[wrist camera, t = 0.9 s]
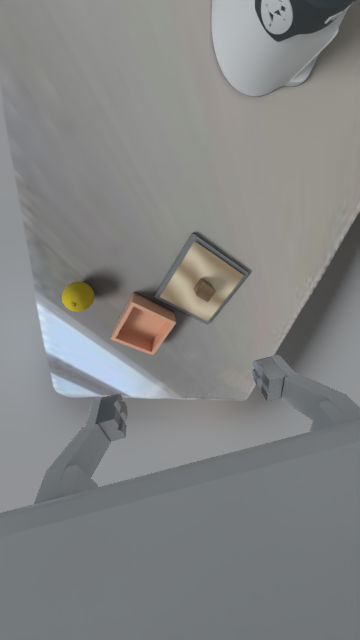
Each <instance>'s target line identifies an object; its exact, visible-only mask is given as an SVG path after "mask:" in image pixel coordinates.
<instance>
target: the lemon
mask: <svg viewBox="0 0 360 640" xmlns="http://www.w3.org/2000/svg"><path fill="white" fill-rule="evenodd" d="M93 300H94V292H93V290H92V288H91V287H90V286H89V285H88V284H86V283H83V282H74V283H71V284H69V285H68V286H67V287H66V288H65V290H64V291H63V294H62V301H63V304H64V305H65V306H66V307H67V308H68V309H69V310H71V311H76V312H80V311H84V310H86V309H87V308H89V307H90V305H91V304H92V303H93Z"/></svg>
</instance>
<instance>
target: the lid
mask: <svg viewBox="0 0 360 640" xmlns="http://www.w3.org/2000/svg"><path fill="white" fill-rule="evenodd" d="M243 277H244V275H243V274H241V273H240V272H238V271H237V270H236V269H234V268H233V267H231V266H230V265H228V264H227V263H226V262H224V261H223V260H221V259H220V258H218V257H217V256H215V255H214V254H213V253H211V252H210V251H208V250H207V249H205V248H204V247H202V246H201V245H200V244H198V243H197V242H195V241H194V243H193V244H192V246H191V247H190V249H189V251H188V252H187V254H186V255H185V257H184V259H183V260H182V262H181V263H180V265H179V267H178V268H177V270H176V271H175V273H174V275H173V276H172V278H171V279H170V281H169V283H168V284H167V286H166V287H165V289H164V291H163V292H162V294H161V295H160V297H161V298H163V299H165V300H167V301H169V302H171V303H173V304H175V305H177V306H179V307H180V308H182V309H184V310H186V311H188V312H190V313H192V314H194V315H196V316H198V317H200V318H202V319H204V320H206V321H209V320H210V318H211V317H212V316H213V315H214V313H215V312H216V311H217V310H218V308H219V307H220V306H221V305H222V303H223V302H224V301H225V300H226V298H227V297H228V296H229V294H230V293H231V292H232V291H233V289H234V288H235V287H236V286H237V284H238V283H239V282H240V281H241V279H242V278H243Z"/></svg>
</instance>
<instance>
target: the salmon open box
mask: <svg viewBox="0 0 360 640" xmlns="http://www.w3.org/2000/svg"><path fill="white" fill-rule="evenodd" d="M175 324H176V319H175V314H174V312H173V311H171V310H169V309H167V308H165V307H163V306H161V305H159V304H157V303H155V302H153V301H151V300H149V299H147V298H145V297H143V296H140V295H138V294H136V293H134V292H133V294H132V296H131V298H130V299H129V301H128V303H127V305H126V307H125V308H124V310H123V312H122V314H121V316H120V317H119V319H118V321H117V323H116V325H115V326H114V329H113V333H112V336H111V340H113V341H116V342H119V343H121V344H124V345H127V346H129V347H132V348H135V349H137V350H140V351H143V352H145V353H148V354H151V355H154V353H155V352H156V351H157V349H158V348H159V346H160V345H161V344H162V342H163V341H164V339H165V338H166V337H167V335H168V334H169V332H170V331H171V330H172V328H173V327H174V325H175Z"/></svg>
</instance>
